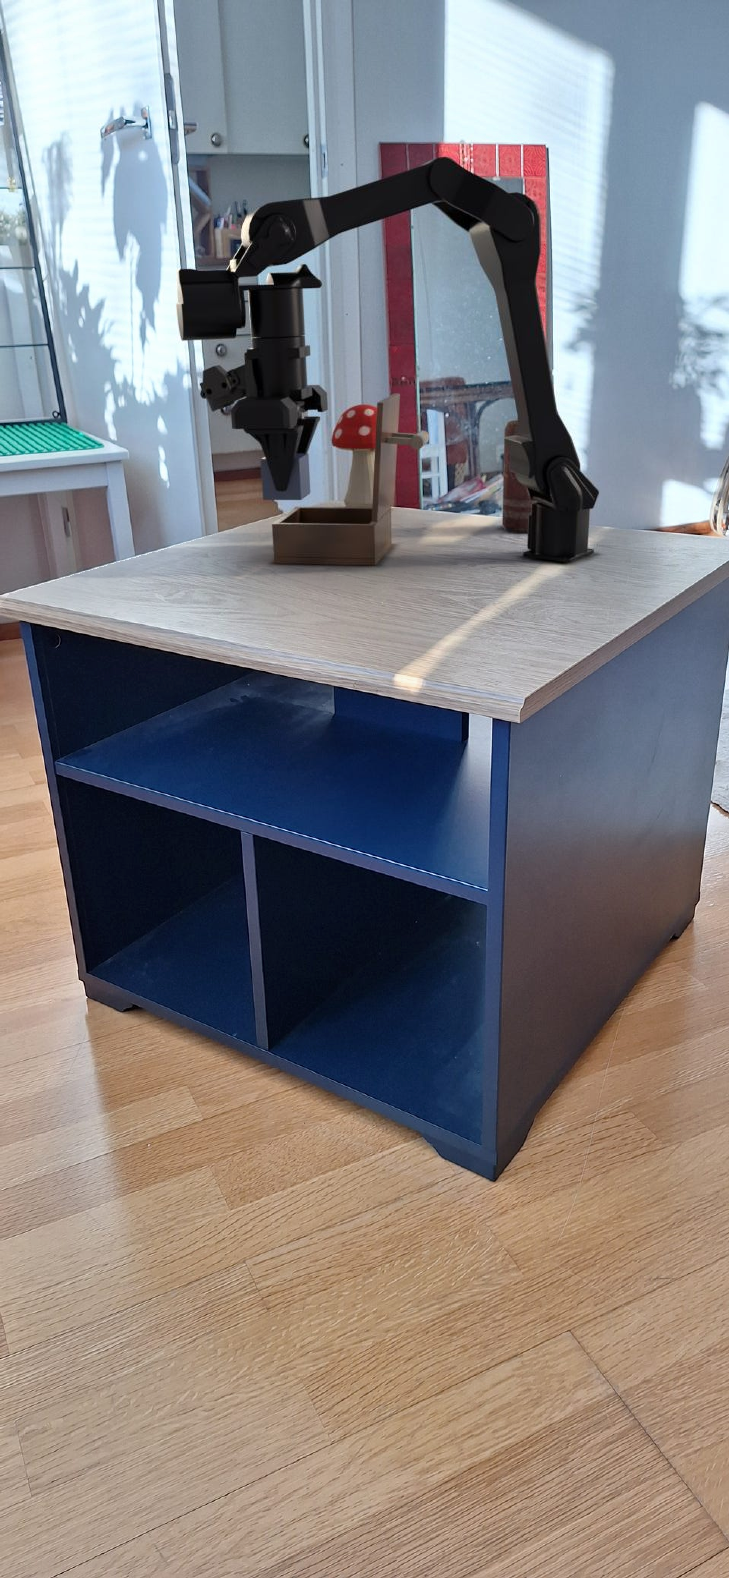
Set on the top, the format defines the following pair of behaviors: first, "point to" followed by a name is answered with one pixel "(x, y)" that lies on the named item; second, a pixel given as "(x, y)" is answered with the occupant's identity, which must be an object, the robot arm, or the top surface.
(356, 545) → the chest
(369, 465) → the decorative mushroom
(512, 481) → the can
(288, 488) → the block
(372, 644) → the top surface
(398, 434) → the lid
